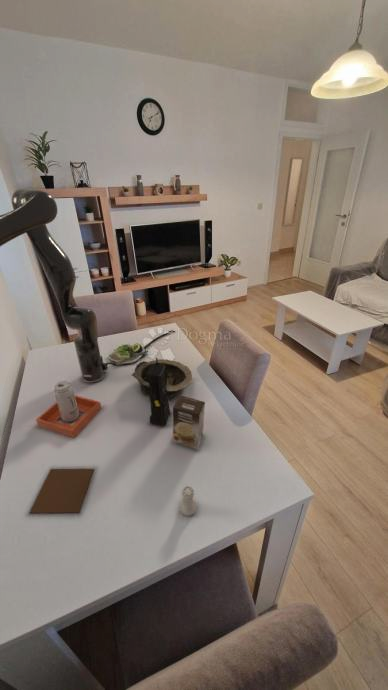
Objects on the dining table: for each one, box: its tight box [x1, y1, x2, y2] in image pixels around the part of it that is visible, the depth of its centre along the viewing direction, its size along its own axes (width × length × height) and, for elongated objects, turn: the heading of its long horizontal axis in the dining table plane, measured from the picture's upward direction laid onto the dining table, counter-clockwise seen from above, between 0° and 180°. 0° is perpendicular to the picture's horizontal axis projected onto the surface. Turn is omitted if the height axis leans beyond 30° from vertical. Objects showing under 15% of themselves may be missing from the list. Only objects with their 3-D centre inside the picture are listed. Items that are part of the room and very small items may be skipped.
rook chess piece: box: [179, 485, 197, 517], centre depth 73 cm, size 4×4×8 cm
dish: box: [35, 394, 102, 439], centre depth 102 cm, size 16×16×3 cm
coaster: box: [28, 468, 95, 514], centre depth 78 cm, size 13×13×1 cm
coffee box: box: [172, 394, 206, 451], centre depth 91 cm, size 9×6×16 cm
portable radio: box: [146, 357, 171, 427], centre depth 96 cm, size 8×6×25 cm
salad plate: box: [107, 342, 149, 366], centre depth 139 cm, size 19×18×5 cm
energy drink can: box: [53, 380, 80, 423], centre depth 100 cm, size 6×6×15 cm
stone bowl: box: [131, 358, 194, 399], centre depth 118 cm, size 25×25×9 cm
